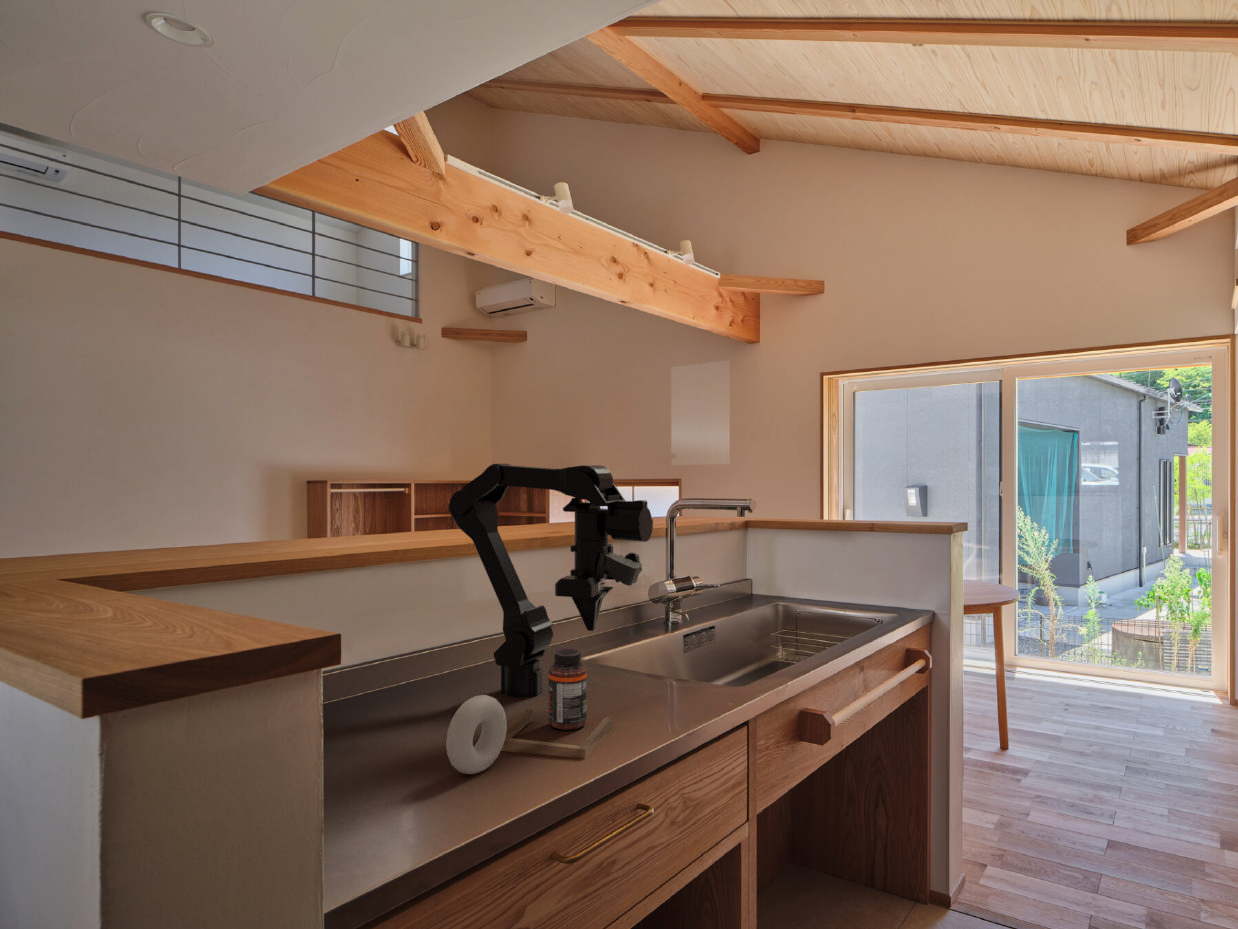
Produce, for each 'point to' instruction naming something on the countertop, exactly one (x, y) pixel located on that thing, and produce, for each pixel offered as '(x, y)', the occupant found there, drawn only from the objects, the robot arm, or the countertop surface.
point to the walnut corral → (548, 747)
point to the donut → (463, 730)
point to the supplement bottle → (567, 691)
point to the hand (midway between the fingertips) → (591, 630)
